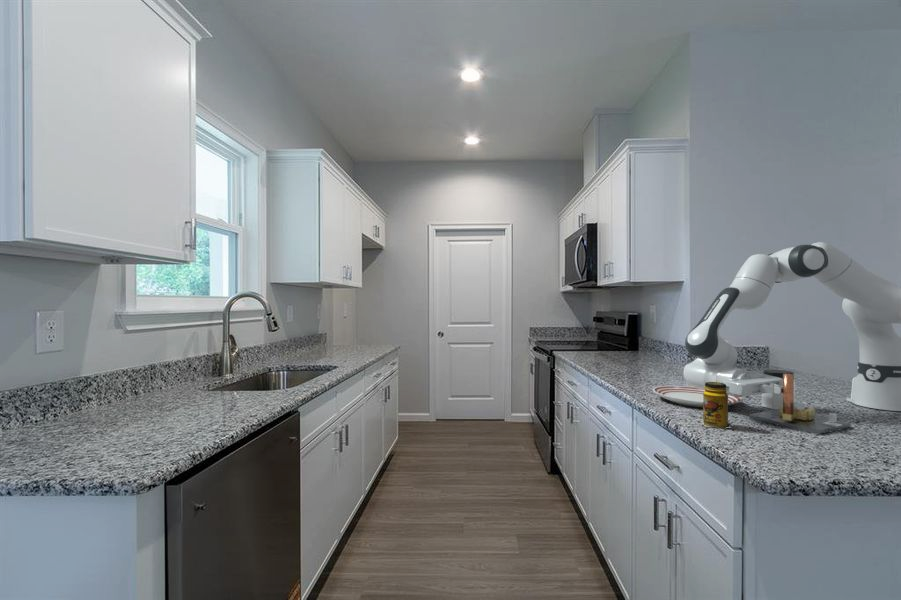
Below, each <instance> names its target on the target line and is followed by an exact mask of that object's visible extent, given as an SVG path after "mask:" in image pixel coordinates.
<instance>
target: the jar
mask: <svg viewBox="0 0 901 600" xmlns="http://www.w3.org/2000/svg"><path fill="white" fill-rule="evenodd" d="M762 374H766V375H770V376H775V377H779V378H782V379H783V374H793V375H794V376H795V373H794V372H793V371H790V370H785V369H763V371H762ZM794 403H796V380H795V379H794ZM781 405H783V393H781V394H777V393H763V394H761V406H762V407H764V408H767V409H770V410H776V409H779V406H781Z"/></svg>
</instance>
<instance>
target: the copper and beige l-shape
mask: <svg viewBox="0 0 901 600" xmlns="http://www.w3.org/2000/svg"><path fill="white" fill-rule="evenodd" d="M794 380H795V374H794V375H793V374H783V405H781V406H779V415H781V416H782V419H784V420H789V421H792V420H793V419H801V420H812V419H813V418H815V416H816V409H815V408H814V407H811V406H806V405H805V410H799V409H794Z"/></svg>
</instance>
